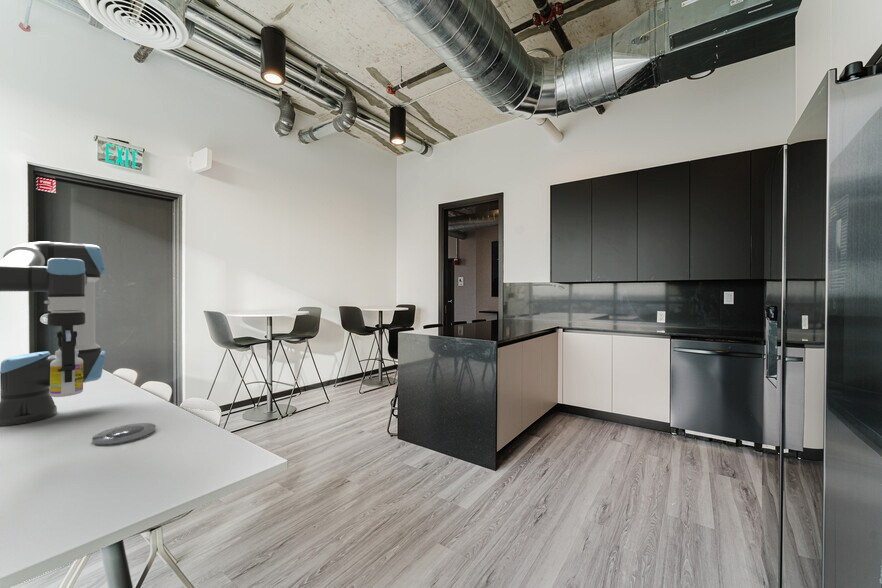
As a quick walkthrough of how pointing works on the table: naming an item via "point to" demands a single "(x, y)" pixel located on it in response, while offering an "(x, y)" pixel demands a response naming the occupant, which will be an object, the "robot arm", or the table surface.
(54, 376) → the supplement bottle
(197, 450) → the table surface
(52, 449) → the table surface
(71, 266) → the robot arm
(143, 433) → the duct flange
